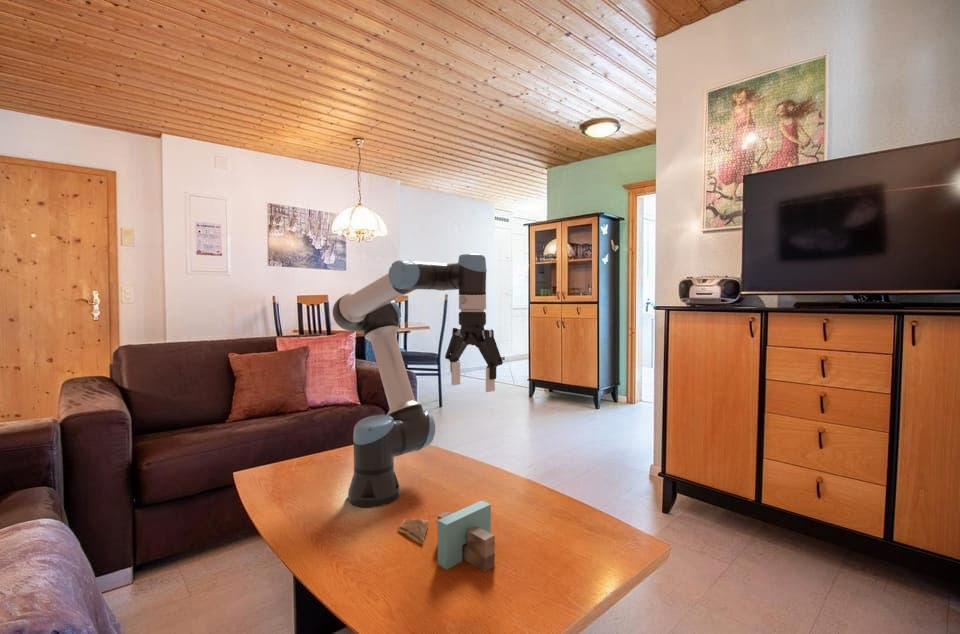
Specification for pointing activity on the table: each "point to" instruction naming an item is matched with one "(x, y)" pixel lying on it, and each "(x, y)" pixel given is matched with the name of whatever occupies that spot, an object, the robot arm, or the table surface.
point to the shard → (414, 529)
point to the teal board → (460, 531)
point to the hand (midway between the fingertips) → (472, 388)
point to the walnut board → (478, 547)
